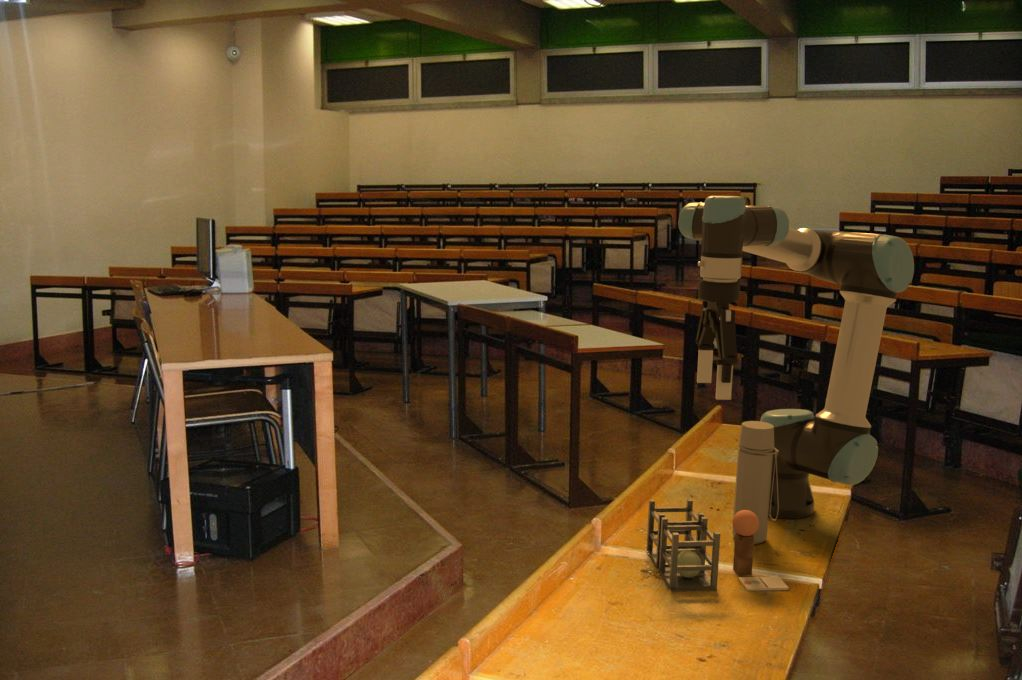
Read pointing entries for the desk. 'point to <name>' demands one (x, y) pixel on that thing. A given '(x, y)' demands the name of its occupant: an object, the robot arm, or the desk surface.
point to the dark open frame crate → (702, 578)
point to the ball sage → (688, 563)
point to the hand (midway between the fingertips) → (713, 390)
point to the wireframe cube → (651, 533)
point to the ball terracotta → (745, 523)
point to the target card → (763, 583)
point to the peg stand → (743, 554)
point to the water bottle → (755, 474)
